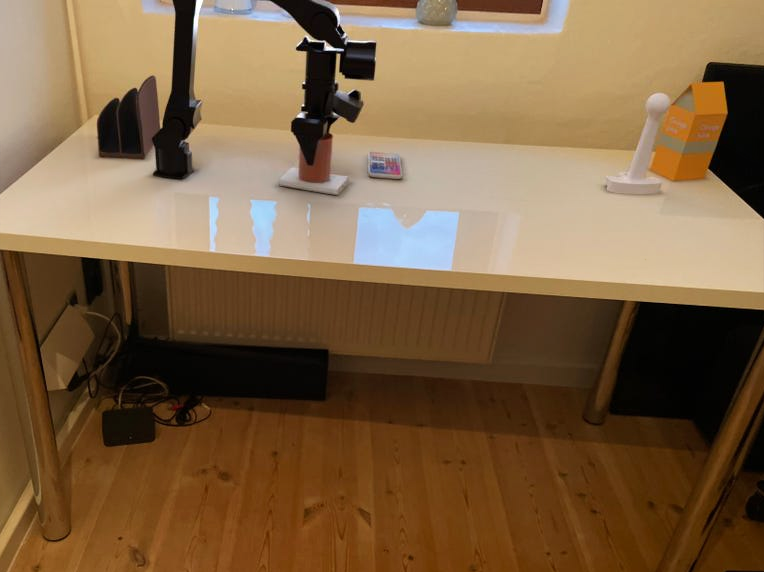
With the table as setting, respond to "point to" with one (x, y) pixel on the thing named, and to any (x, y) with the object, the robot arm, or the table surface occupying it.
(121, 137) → the letter holder
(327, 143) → the cup
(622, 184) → the joystick
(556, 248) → the table surface
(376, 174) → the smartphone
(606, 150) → the table surface
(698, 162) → the orange juice
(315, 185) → the hard drive
